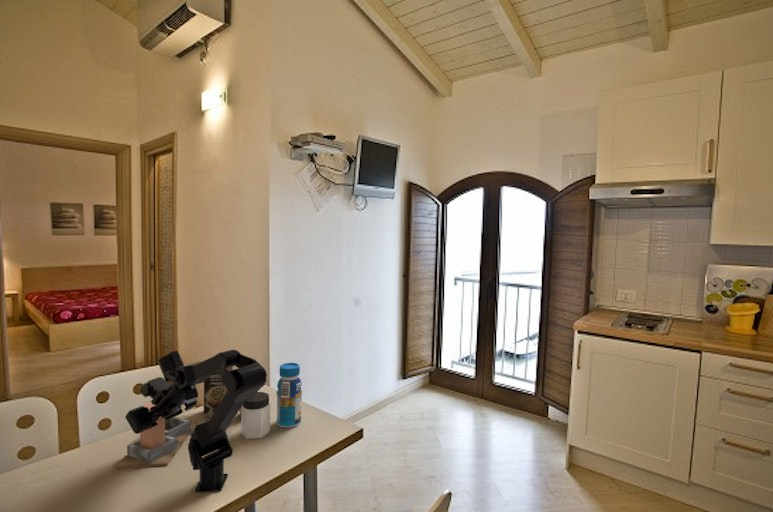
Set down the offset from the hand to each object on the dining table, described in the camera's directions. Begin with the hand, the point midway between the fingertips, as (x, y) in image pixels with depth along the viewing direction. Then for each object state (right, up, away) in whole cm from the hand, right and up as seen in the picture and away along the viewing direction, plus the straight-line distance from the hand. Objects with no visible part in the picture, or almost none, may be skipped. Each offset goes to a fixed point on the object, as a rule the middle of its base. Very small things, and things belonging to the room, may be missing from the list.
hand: (149, 425), depth 114 cm
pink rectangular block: (+1, -7, 0) cm, 7 cm away
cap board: (0, -8, +5) cm, 10 cm away
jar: (+26, -9, +13) cm, 31 cm away
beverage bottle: (+36, -8, +21) cm, 42 cm away
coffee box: (+8, -7, +27) cm, 29 cm away
